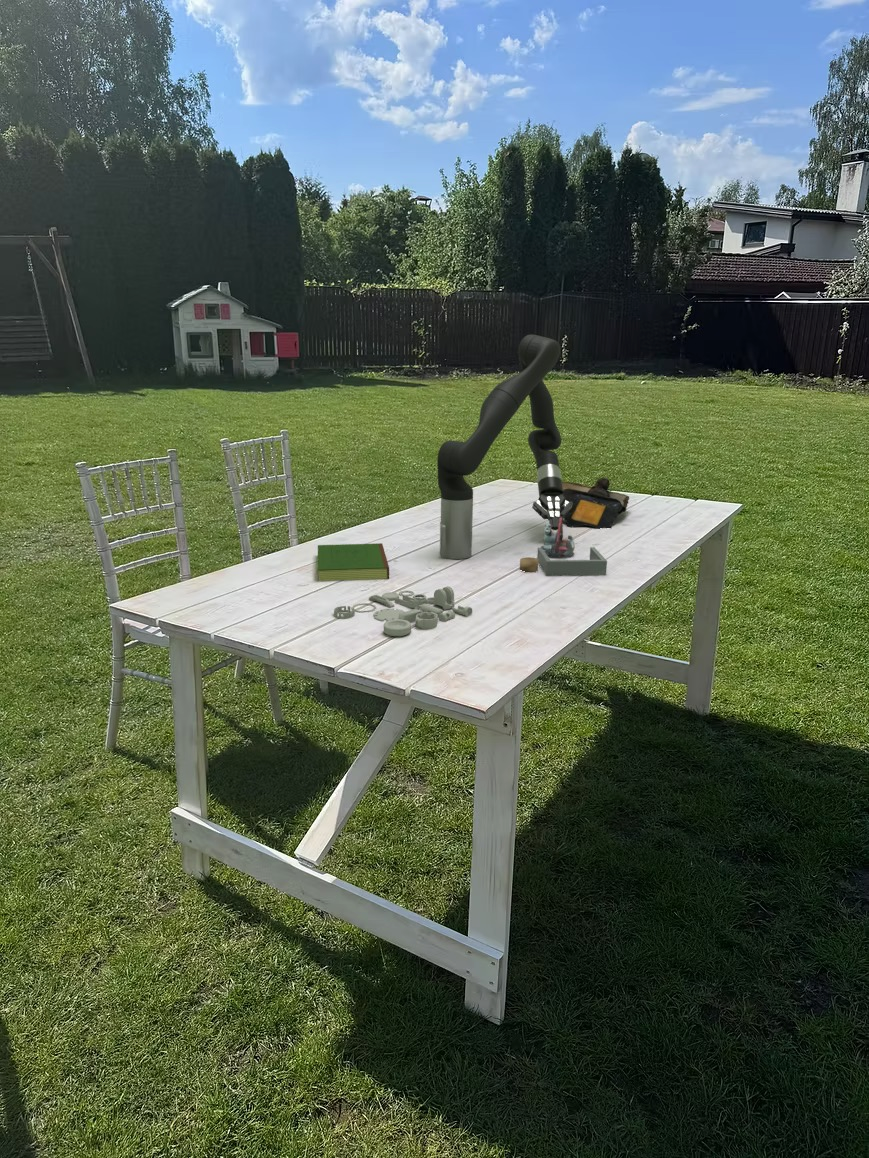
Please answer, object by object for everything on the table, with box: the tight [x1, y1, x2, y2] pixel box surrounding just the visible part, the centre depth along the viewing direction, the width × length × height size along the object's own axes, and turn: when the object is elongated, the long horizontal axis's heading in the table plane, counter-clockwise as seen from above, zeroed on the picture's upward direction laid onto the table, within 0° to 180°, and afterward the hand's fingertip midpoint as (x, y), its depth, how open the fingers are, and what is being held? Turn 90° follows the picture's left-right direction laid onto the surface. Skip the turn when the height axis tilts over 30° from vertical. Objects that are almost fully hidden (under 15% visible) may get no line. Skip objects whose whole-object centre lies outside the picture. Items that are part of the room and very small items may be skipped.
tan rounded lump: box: [519, 556, 539, 573], centre depth 216 cm, size 5×5×3 cm
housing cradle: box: [536, 546, 608, 577], centre depth 218 cm, size 16×14×4 cm
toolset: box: [559, 477, 630, 530], centre depth 278 cm, size 40×20×27 cm
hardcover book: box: [317, 542, 390, 582], centre depth 218 cm, size 25×19×4 cm
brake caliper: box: [540, 518, 576, 558], centre depth 231 cm, size 11×11×12 cm
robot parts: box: [333, 586, 473, 637], centre depth 183 cm, size 25×25×5 cm
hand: (555, 529), depth 238 cm, fingers closed
